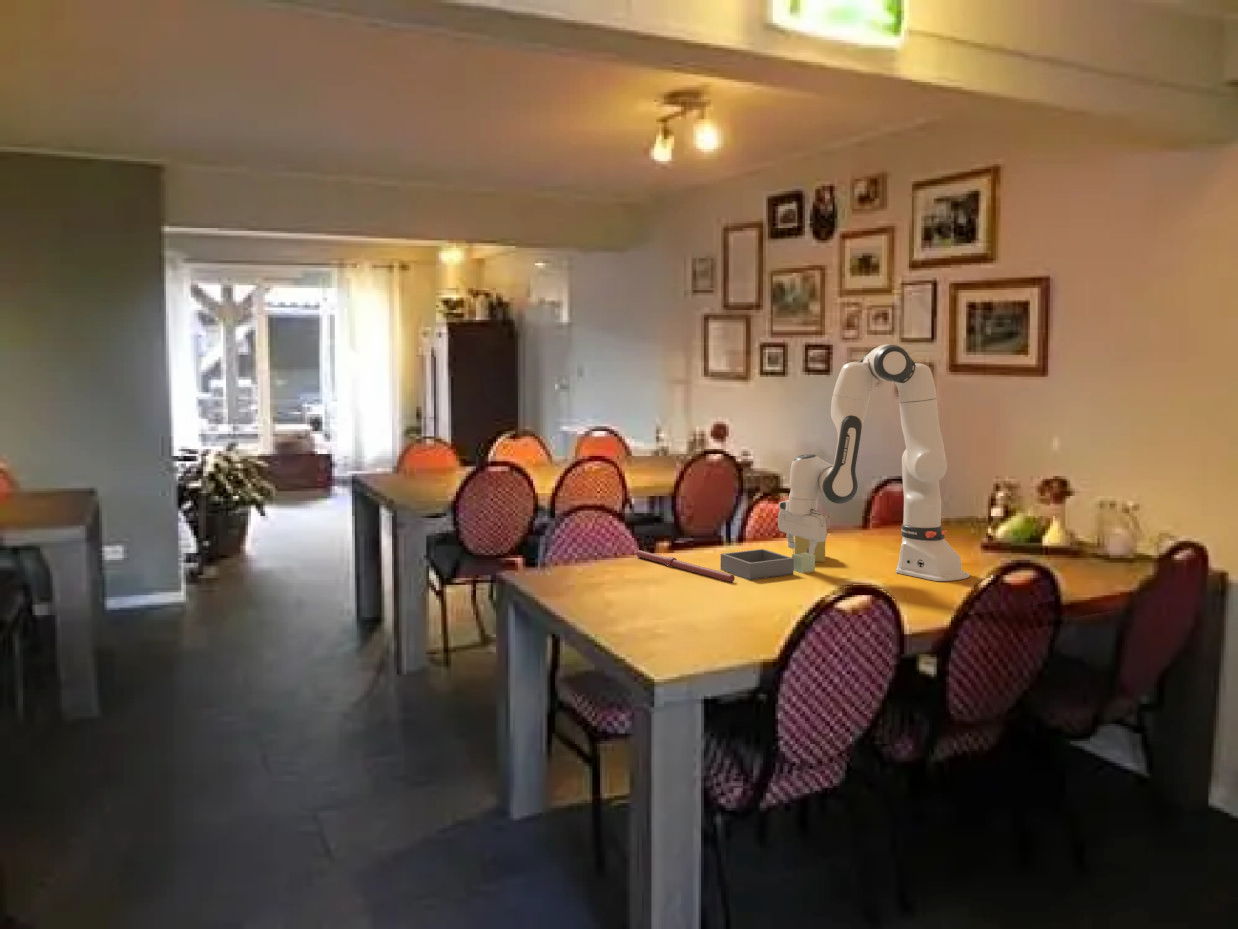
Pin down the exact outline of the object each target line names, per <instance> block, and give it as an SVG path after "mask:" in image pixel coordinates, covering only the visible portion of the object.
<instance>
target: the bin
mask: <svg viewBox="0 0 1238 929" xmlns="http://www.w3.org/2000/svg"><path fill="white" fill-rule="evenodd" d="M723 570H724V571H723ZM720 571H723V572H725V573H728V572H729V573H728V574H731V575H734V576H737V577H739V578H742V579H746V580H749V581H753V580H762V579H771V578H777V577H785V576H790V575H791V576H792V575H793V576H794V558H792V556H787V555H784V554H782V553H778V552H775V551H771V550H768V549H764V548H760V549H750V550H742V551H733V552H725V553H720Z"/></svg>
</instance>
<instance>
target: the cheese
mask: <svg viewBox="0 0 1238 929" xmlns="http://www.w3.org/2000/svg"><path fill="white" fill-rule="evenodd" d="M793 539H794V542H795V543H796V545H795V546H796V547H795V548H791V550H792V554H798V553H807V548H809V546H810V543H809V540H808V539H805V538H801V537H798V536H795V535H794V537H793ZM826 540H827V539H826ZM826 540H825V541H823V542H818V543H817V545H816V547H815V550H814V554H811V555H815V563H816V562H817V563H818V562H819V563H821V562H823V563H824V562H825V561H826Z"/></svg>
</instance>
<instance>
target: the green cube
mask: <svg viewBox="0 0 1238 929" xmlns="http://www.w3.org/2000/svg"><path fill="white" fill-rule="evenodd" d="M791 558H794V570H793V572H798V573H799V574H800V573H801V574H804V573H805V574H806V573H811V572H816V570H815V569H816V562H815V555H810V554H808V553H798V554H793V553H791Z"/></svg>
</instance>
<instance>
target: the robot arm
mask: <svg viewBox="0 0 1238 929" xmlns="http://www.w3.org/2000/svg"><path fill="white" fill-rule="evenodd" d="M835 382H836V383H835V385H834V388H833V393H832V398H831V403H830V417H831V420H832V422H833V424H834V427H835V428H836V429H835V430H836V432H837V444H836V451H835V454H834V455H835V457H834V462H833V464H831V463H830V462H827V461H825V460H823V459H822V458H821V457H819V456H818V455H816V454H811V453H810V454H809V453H808V454H801V455H798V456H796V457H794V458H793V460H792V463H791V465H790V472H789V485H790V492H789V495H788V500H783V501H780V502H779V503H778V509H779V511H778V514H777V515H778V517H777V527H778V530H779V531H780V532H782V533H785V535H786V536H785V538H786V540H787V542H788V544H787V545H788V546H787V548H788V549H792V548H795V547H796V546H795V545H796V543H795V542H794V539H793V537H794V535H795V536H798V537H801V538H805V539H808V540H809V543H810V546H809V548H807V553H808V554H810V555H811V554H814V550H815V547H816V545H817V543H818V542H823V541H825V540H827V534H828V533H827V520H826V517H825V515H824V514H823V512H822V511H821V510H818V504H819V496H821V495H824V496H825V497H826V498H827V500H829V501H830V502H832V503H834V504H840V505H841V504H846V503H848V502H850V501H851V500H853V498H854V497H855V496H856V494H857V492H858V488H859V487H858V486H859V485H858V484H859V483H858V480H857V478H858V477H857V475H856V469H857V468H856V467H857V460H858V454H859V450H860V448H859V447H860V442H861V434H862V432H863V428H864V424H865V419H866V416H867V413H868V408H869V403H870V399H871V393H872V390H873V389H874V387H875V385H876V384H877V383H878V382H893V383H894V384H895V387H896V389H897V392H898V405H899V414H900V426H901V429H902V435H903V438H904V444H905V449H904V451H903V453H902V455H901V474H902V475H901V477H902V491H903V519H902V520H903V522H902V524H901V529H900V530H901V536H902V538H901V539H902V540H901V545H900V548H899V549H900V550H899V556H898V561H897V562H898V563H897V566H896V569H895V573H896V574H901V575H905V576H906V575H907V576H909V577H910V576H911V577H915V578H920V579H924V580H930V581H935V582H950V581H957V580H964V579H967V578H969V577H970V572H967V571H964V570H962V568H963V567H962V560H961V556H960V554H959V553H958V552H957V551H956V550H955V549H954V548H953V547H952V546H951V545H950V544H949V542H948V541H947V540H946V539H945V538H946V537H945V535H948V533H947V532H948V530H943V526H942V523H941V522H942V519H941V517H942V496H941V490H940V480H942V479H943V478H944V476H946V473H947V470H948V461H947V456H946V451H945V445H944V441H943V440H944V439H943V435H942V431H941V427H940V420H939V418H940V417H939V408H938V399H937V398H938V397H937V391H936V390H937V388H936V385H935V380H934V376H933V373H932V370H931V368H930V366H928V365H926V364H923V363H919V362H918V363H917V362H914V360H913V359H912V358H911V356H910V354H909V353H908V351H907V350H905V349H904V348H903V347H901V346H899V345H897V344H881V345H876V346H874V347H873V348H871V349H870V350H869V351H868V352H866V354H865V355H864V357H863V358H861V360H860V361H851V362H847V363H845V364H844V365H843V366H842V368H841V369H840V372H839V375H838V376H837V379H836V381H835ZM825 542H826V541H825Z"/></svg>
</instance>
